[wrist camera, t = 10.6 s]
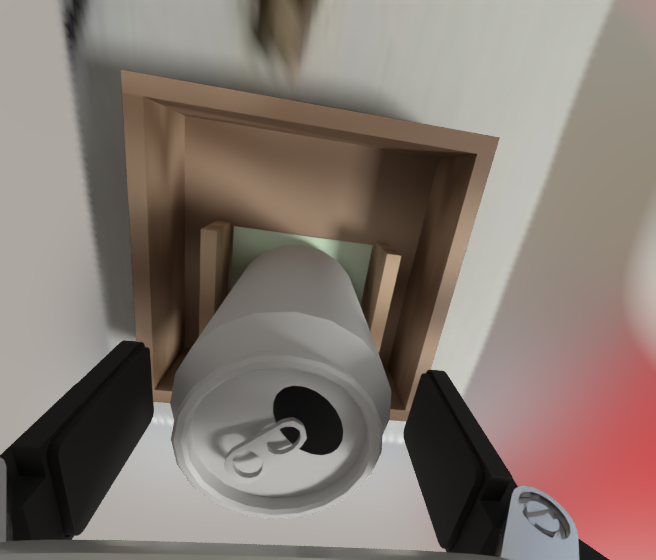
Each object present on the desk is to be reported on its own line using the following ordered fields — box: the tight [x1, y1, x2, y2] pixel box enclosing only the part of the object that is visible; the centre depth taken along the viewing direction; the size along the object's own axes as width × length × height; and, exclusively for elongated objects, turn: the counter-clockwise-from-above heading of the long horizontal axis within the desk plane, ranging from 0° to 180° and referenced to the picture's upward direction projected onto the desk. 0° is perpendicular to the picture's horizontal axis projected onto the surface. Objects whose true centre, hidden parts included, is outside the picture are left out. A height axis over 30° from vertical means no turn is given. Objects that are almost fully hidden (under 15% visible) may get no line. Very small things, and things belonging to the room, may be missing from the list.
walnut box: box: [121, 70, 499, 421], centre depth 18 cm, size 16×16×5 cm
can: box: [170, 245, 391, 519], centre depth 15 cm, size 8×8×12 cm
